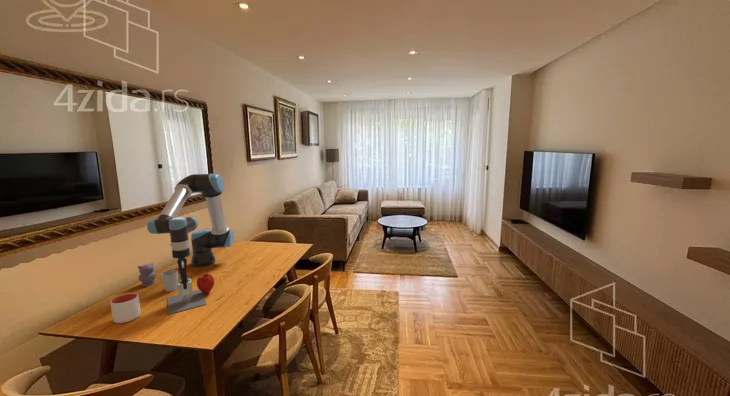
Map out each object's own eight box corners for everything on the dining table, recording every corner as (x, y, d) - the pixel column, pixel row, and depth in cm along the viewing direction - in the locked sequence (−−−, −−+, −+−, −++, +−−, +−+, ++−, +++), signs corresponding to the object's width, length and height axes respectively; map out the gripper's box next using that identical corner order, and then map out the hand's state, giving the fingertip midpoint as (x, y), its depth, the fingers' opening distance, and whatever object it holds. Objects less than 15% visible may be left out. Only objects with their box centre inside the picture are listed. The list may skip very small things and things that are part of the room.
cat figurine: (141, 288, 167) (138, 268, 166) (138, 284, 173) (135, 265, 171) (158, 283, 174) (156, 264, 172) (155, 279, 179) (153, 261, 177)
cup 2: (183, 287, 168) (181, 270, 167) (169, 293, 160) (167, 276, 159) (172, 285, 171) (171, 269, 169) (159, 291, 163) (157, 274, 162)
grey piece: (167, 298, 156) (166, 288, 155) (201, 289, 165) (200, 280, 164) (168, 314, 139) (167, 304, 138) (206, 304, 148) (205, 294, 147)
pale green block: (178, 292, 152) (176, 279, 151) (191, 288, 155) (190, 277, 154) (179, 296, 147) (177, 283, 146) (192, 293, 150) (191, 280, 149)
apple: (199, 291, 163) (197, 272, 161) (216, 288, 166) (214, 270, 164) (196, 298, 155) (194, 278, 154) (214, 295, 158) (212, 276, 157)
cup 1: (123, 313, 141) (120, 293, 140) (145, 312, 142) (143, 292, 141) (107, 325, 132) (104, 304, 130) (131, 323, 132) (128, 303, 131)
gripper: (171, 245, 153) (175, 287, 157) (172, 255, 138) (177, 301, 141) (187, 242, 157) (192, 283, 161) (190, 252, 142) (195, 297, 145)
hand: (185, 292), depth 151 cm, fingers closed on pale green block, 6 cm apart
